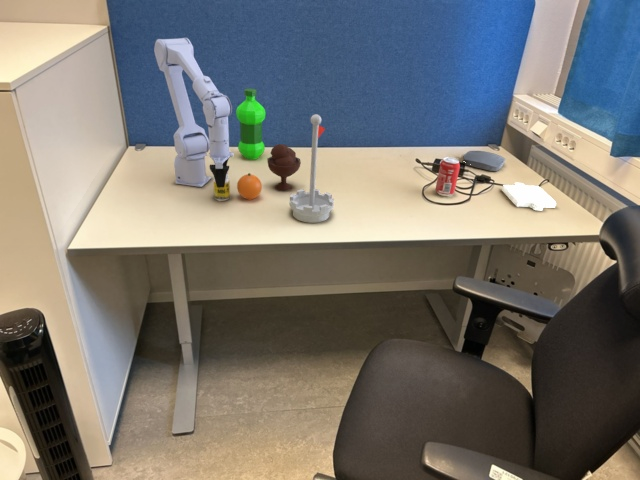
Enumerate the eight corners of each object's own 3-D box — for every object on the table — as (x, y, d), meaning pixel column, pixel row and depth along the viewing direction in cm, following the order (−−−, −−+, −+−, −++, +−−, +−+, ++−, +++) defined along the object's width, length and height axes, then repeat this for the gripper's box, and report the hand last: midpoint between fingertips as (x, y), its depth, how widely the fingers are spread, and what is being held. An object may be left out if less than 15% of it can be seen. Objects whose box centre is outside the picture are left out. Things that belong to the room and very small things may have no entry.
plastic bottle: (232, 155, 179) (229, 88, 166) (255, 150, 185) (254, 85, 172) (247, 164, 172) (246, 94, 160) (270, 158, 179) (270, 91, 166)
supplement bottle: (217, 202, 144) (215, 176, 140) (212, 196, 148) (210, 171, 143) (232, 199, 146) (231, 174, 142) (227, 193, 150) (226, 169, 145)
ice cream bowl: (295, 196, 151) (297, 151, 143) (262, 191, 153) (262, 147, 145) (303, 183, 160) (305, 140, 152) (272, 179, 162) (272, 136, 154)
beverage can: (455, 192, 161) (462, 159, 155) (451, 198, 156) (459, 165, 150) (437, 188, 163) (443, 155, 157) (432, 194, 158) (439, 161, 152)
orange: (234, 200, 145) (233, 176, 141) (242, 191, 152) (241, 167, 148) (257, 204, 144) (257, 180, 140) (264, 194, 151) (264, 170, 147)
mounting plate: (499, 187, 167) (500, 182, 166) (534, 188, 168) (535, 183, 167) (519, 210, 152) (521, 204, 151) (558, 211, 152) (560, 206, 151)
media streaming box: (496, 173, 178) (498, 166, 177) (459, 164, 185) (461, 157, 183) (505, 162, 189) (507, 155, 188) (470, 154, 196) (471, 147, 194)
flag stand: (317, 228, 133) (324, 124, 118) (280, 215, 139) (282, 114, 124) (340, 212, 143) (349, 114, 128) (304, 200, 148) (309, 105, 133)
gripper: (232, 147, 132) (234, 191, 139) (233, 131, 144) (234, 172, 151) (206, 147, 131) (209, 191, 137) (209, 131, 143) (212, 172, 150)
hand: (221, 181), depth 144 cm, fingers open, 7 cm apart
